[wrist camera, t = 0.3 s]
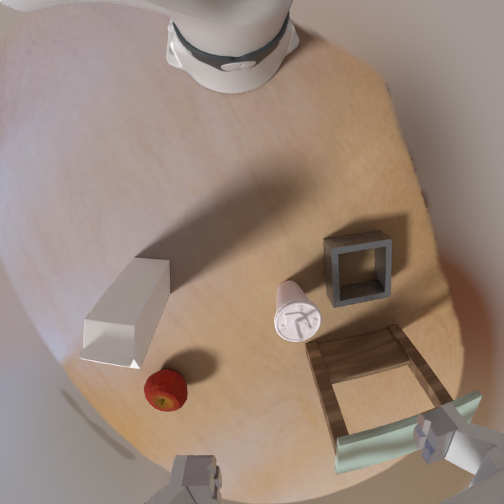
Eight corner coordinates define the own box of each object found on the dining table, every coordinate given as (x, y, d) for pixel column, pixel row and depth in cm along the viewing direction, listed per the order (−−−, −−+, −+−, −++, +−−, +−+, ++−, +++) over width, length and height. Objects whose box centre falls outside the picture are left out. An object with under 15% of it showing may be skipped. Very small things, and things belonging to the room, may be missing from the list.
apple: (181, 395, 57) (176, 424, 50) (145, 380, 56) (136, 408, 49) (195, 371, 55) (191, 400, 48) (156, 355, 54) (147, 383, 46)
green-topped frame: (300, 320, 52) (339, 445, 28) (401, 300, 52) (482, 395, 27) (303, 352, 55) (336, 474, 30) (398, 331, 54) (466, 429, 30)
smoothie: (285, 264, 49) (302, 310, 36) (316, 286, 50) (340, 335, 37) (260, 295, 50) (267, 347, 37) (290, 315, 52) (305, 369, 39)
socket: (323, 239, 48) (330, 248, 43) (379, 230, 47) (391, 238, 43) (326, 294, 51) (333, 307, 47) (379, 284, 51) (390, 296, 46)
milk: (170, 293, 50) (134, 389, 29) (135, 290, 49) (84, 379, 29) (170, 258, 48) (127, 344, 27) (133, 256, 47) (72, 335, 27)
